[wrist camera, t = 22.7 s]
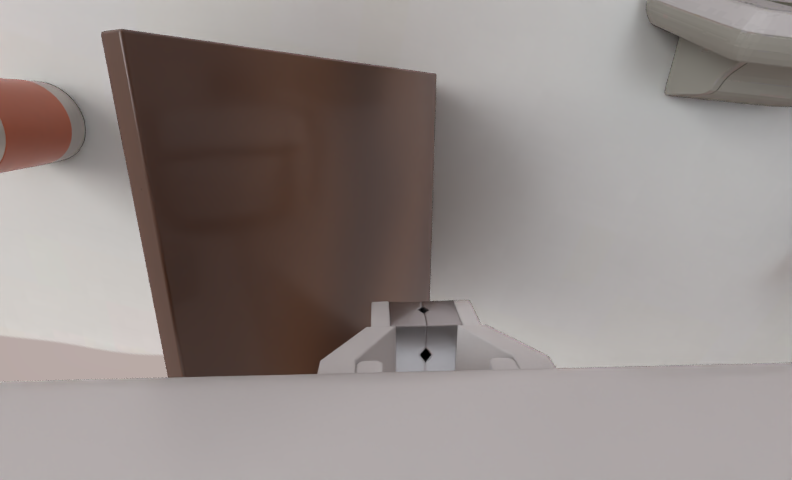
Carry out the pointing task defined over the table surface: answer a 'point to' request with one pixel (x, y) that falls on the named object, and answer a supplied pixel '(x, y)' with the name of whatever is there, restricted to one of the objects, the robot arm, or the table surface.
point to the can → (37, 124)
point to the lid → (271, 196)
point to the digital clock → (729, 49)
